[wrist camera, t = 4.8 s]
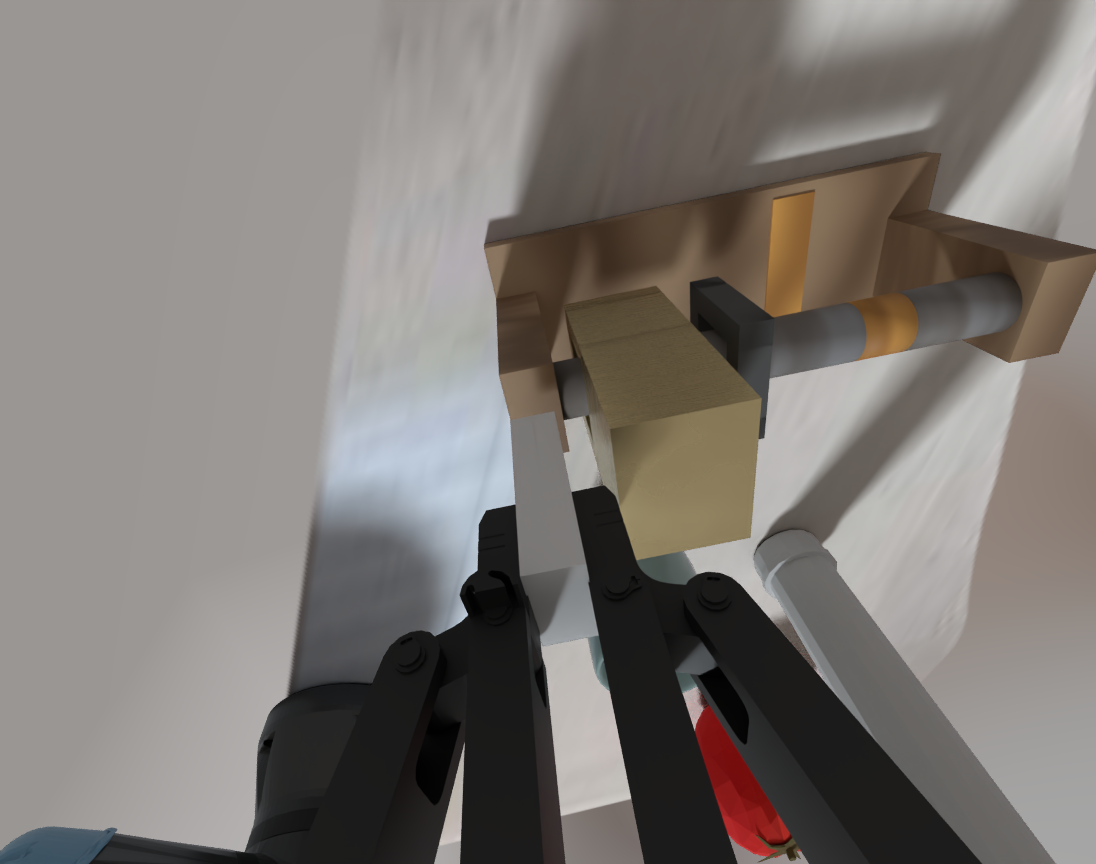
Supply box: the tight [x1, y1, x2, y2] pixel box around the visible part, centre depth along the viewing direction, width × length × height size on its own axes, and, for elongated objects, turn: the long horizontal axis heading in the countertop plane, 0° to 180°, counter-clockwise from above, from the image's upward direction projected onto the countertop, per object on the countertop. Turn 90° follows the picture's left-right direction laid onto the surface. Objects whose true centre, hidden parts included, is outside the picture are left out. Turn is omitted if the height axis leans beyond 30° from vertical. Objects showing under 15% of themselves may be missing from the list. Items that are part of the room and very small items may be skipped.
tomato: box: [695, 705, 801, 862], centre depth 46 cm, size 12×12×13 cm
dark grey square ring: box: [690, 276, 775, 439], centre depth 20 cm, size 1×5×5 cm, turn 10°
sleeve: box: [564, 286, 762, 560], centre depth 18 cm, size 4×5×10 cm
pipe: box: [754, 530, 1055, 864], centre depth 27 cm, size 6×6×30 cm
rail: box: [484, 152, 1096, 453], centre depth 23 cm, size 22×9×10 cm, turn 100°
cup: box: [588, 551, 697, 693], centre depth 33 cm, size 8×8×10 cm
